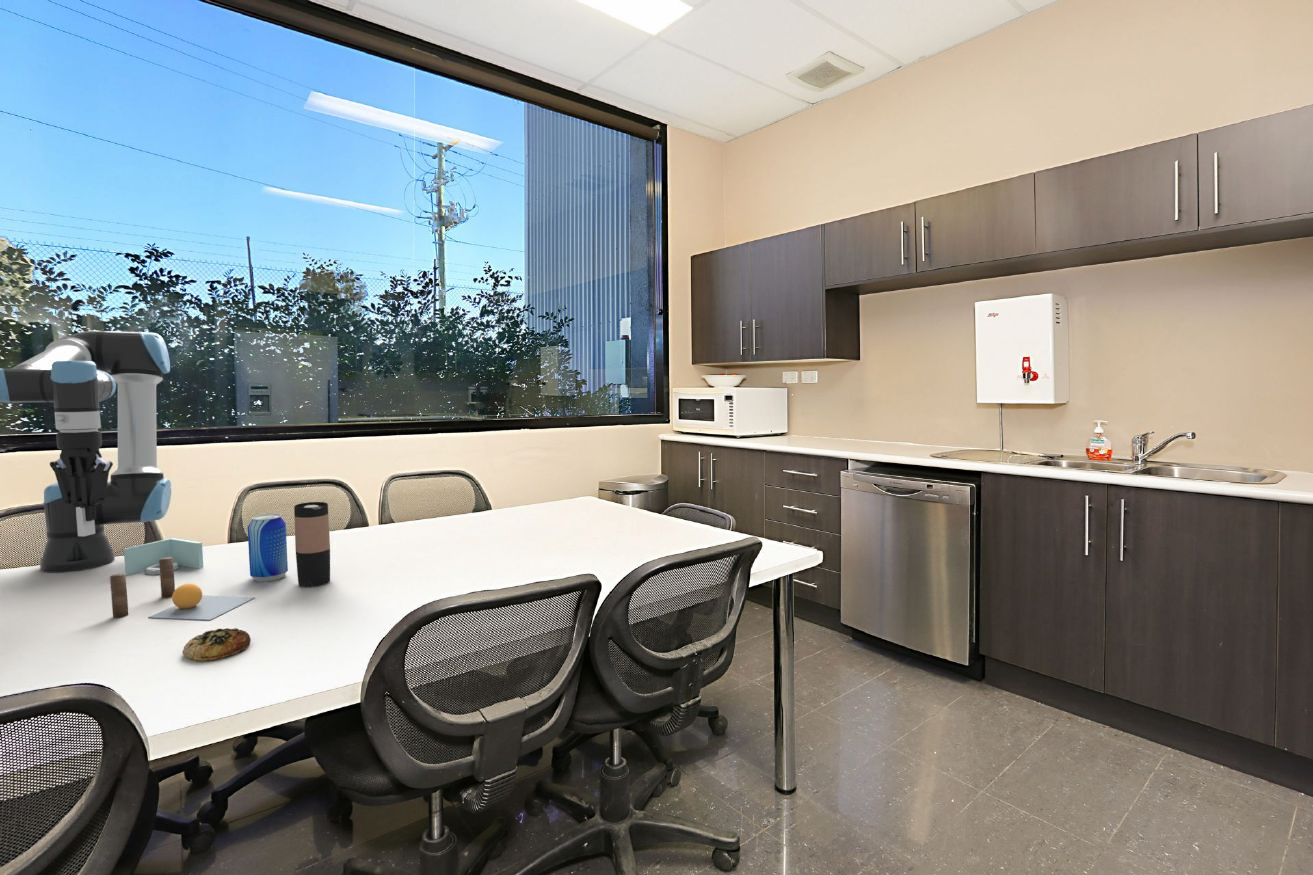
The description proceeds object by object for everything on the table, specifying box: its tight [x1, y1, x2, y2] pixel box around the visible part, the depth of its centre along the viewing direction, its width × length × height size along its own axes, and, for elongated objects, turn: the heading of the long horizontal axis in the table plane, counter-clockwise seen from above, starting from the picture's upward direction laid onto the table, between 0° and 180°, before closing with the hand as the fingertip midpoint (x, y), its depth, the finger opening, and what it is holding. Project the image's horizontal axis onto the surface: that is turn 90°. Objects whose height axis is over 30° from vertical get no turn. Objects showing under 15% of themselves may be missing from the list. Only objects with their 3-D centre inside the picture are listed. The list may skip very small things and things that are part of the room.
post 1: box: [109, 572, 129, 619], centre depth 140 cm, size 3×3×9 cm
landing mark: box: [147, 594, 256, 622], centre depth 146 cm, size 14×14×1 cm
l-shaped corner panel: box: [123, 537, 204, 576], centre depth 172 cm, size 12×12×8 cm
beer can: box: [247, 513, 289, 582], centre depth 167 cm, size 8×8×16 cm
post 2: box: [159, 557, 176, 599], centre depth 153 cm, size 3×3×9 cm
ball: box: [171, 583, 203, 609], centre depth 145 cm, size 6×6×6 cm
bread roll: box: [182, 627, 251, 662], centre depth 124 cm, size 11×11×5 cm
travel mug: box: [293, 501, 331, 588], centre depth 163 cm, size 8×8×20 cm
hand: (86, 534), depth 146 cm, fingers closed
